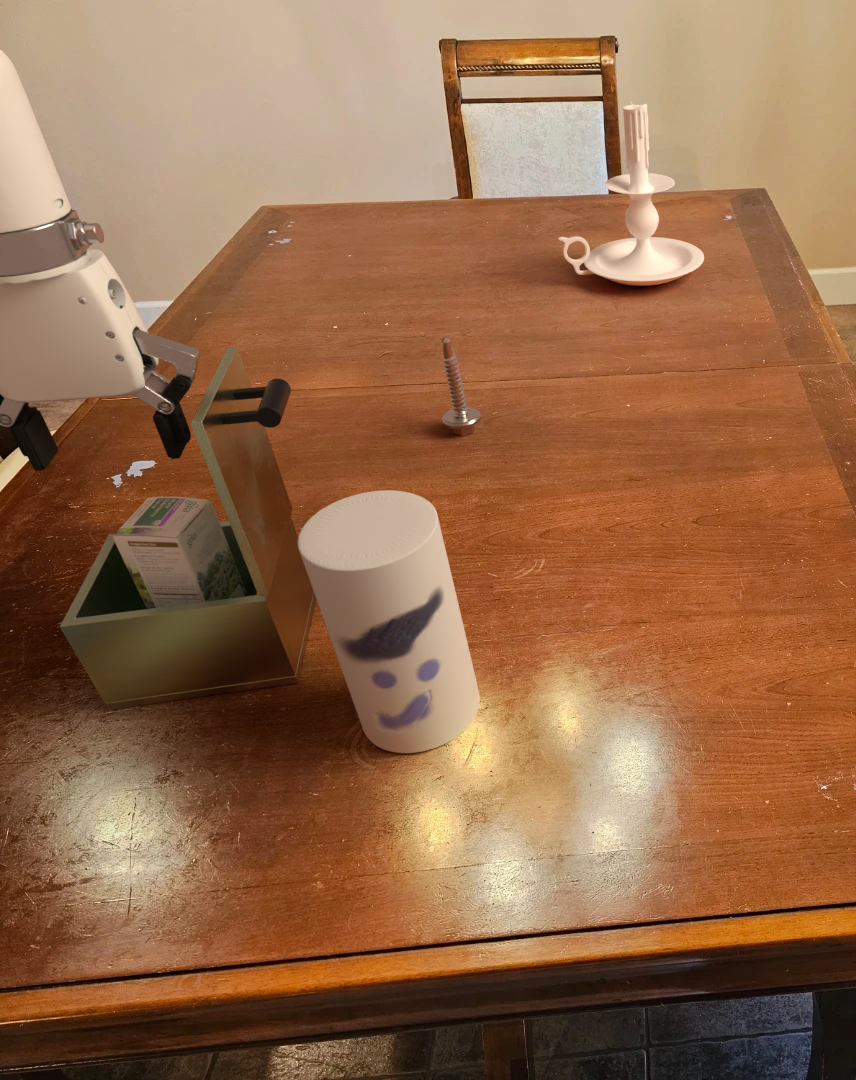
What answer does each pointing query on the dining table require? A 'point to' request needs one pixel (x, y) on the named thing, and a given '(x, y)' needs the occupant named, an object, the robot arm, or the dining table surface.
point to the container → (393, 617)
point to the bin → (190, 632)
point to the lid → (246, 462)
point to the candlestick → (638, 222)
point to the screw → (457, 396)
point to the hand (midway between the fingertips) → (114, 455)
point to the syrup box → (178, 553)
